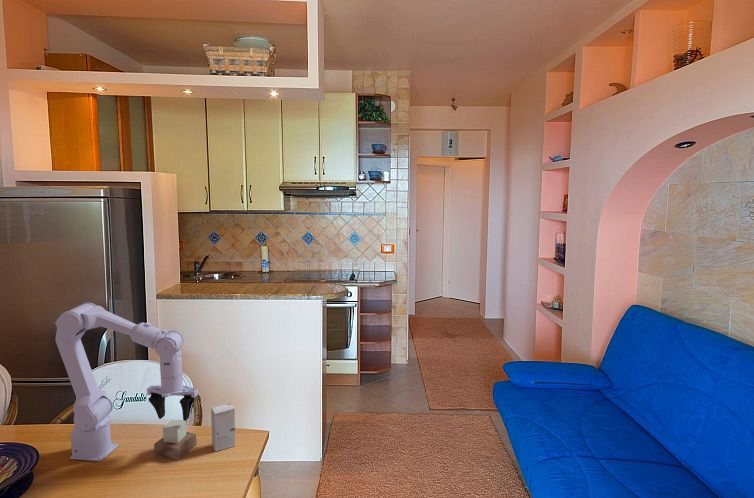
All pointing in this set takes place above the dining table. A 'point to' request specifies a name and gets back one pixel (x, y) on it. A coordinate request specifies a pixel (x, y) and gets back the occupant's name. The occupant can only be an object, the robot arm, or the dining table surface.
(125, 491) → the dining table surface
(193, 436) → the walnut block
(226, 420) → the skincare box
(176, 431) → the sage cube
